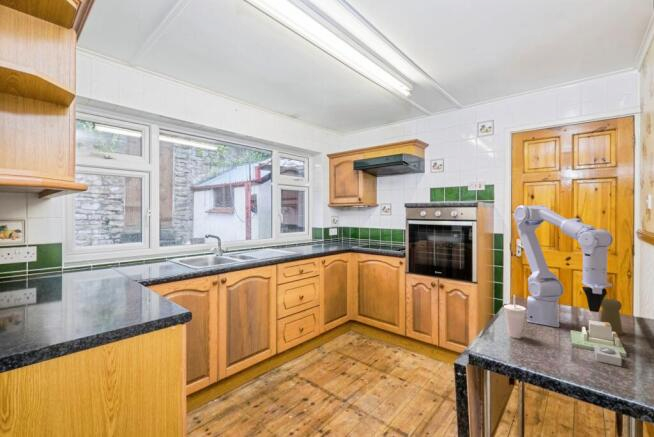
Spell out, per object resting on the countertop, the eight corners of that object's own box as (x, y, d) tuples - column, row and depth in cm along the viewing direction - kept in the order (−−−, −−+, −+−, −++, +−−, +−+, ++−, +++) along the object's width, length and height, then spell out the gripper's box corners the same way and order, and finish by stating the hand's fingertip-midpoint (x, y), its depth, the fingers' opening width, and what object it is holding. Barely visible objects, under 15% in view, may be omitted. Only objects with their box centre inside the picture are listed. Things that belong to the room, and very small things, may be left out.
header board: (572, 346, 94) (572, 335, 94) (570, 332, 104) (570, 323, 103) (626, 357, 87) (626, 345, 87) (619, 341, 96) (619, 331, 96)
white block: (589, 339, 96) (590, 322, 96) (588, 335, 99) (588, 319, 99) (611, 343, 93) (611, 326, 93) (609, 338, 96) (609, 322, 96)
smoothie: (501, 336, 102) (501, 294, 101) (506, 330, 107) (506, 290, 106) (523, 341, 98) (524, 298, 97) (527, 335, 102) (528, 293, 102)
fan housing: (596, 361, 85) (596, 351, 85) (594, 352, 90) (594, 343, 90) (621, 366, 82) (621, 356, 82) (617, 357, 87) (617, 347, 87)
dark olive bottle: (616, 328, 106) (617, 297, 106) (627, 336, 100) (627, 302, 100) (595, 327, 108) (595, 296, 108) (604, 333, 102) (604, 301, 102)
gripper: (616, 274, 87) (615, 321, 88) (608, 265, 99) (607, 307, 100) (584, 271, 91) (583, 316, 92) (579, 263, 103) (579, 303, 104)
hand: (593, 311), depth 96 cm, fingers closed
